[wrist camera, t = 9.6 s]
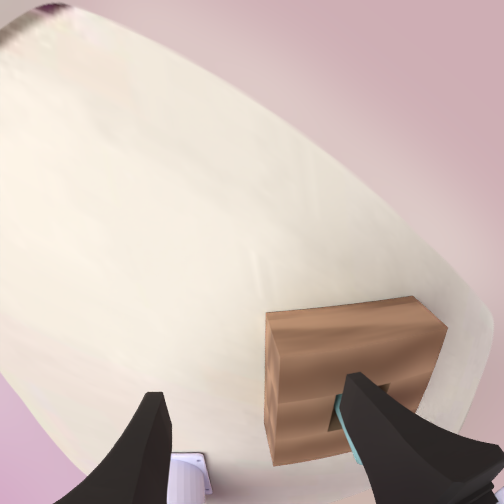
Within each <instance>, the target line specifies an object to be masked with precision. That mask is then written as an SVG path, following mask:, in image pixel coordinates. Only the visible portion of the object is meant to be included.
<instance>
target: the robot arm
mask: <svg viewBox="0 0 504 504" xmlns="http://www.w3.org/2000/svg"><path fill="white" fill-rule="evenodd" d="M339 409H340V413H341V416H342V419H343V422H344V425H345V428H346V430H347V433H348V435H349V437H350V439H351V441H352V443H353V445H354V447H355V449H356V451H357V454H358V456H359V458H360V460H361V462H362V464H363V466H364V468H365V471H366V473H367V475H368V478H369V481H370V484H371V487H372V490H373V494H374V497H375V500H376V504H504V487H502V488H501V489H500V490H498V491H497V492H496V493H495V494H494V493H493V492H492V489H493V488H494V485H493V483H492V482H491V481H492V480H493V479H494V478H495V477H496V476H497V475H498V473H499V472H500V471H501V470H502V469H503V468H504V452H503V451H502V449H501V448H500V447H499V446H498V445H495V444H490V443H485V442H480V441H476V440H473V439H469V438H466V437H463V436H460V435H457V434H454V433H452V432H450V431H447V430H445V429H442V428H440V427H438V426H436V425H434V424H432V423H430V422H429V421H427V420H425V419H423V418H421V417H420V416H418V415H416V414H415V413H413V412H412V411H410V410H409V409H407V408H406V407H404V406H403V405H402V404H400V403H399V402H397V401H396V400H395V399H393V398H392V397H391V396H390V395H388V394H387V393H386V392H384V391H383V390H382V389H381V388H380V387H378V386H377V385H376V384H375V383H373V382H372V381H371V380H370V379H369V378H367V377H366V376H365V375H364V374H363V373H361V372H356V373H351V374H347V375H346V380H345V384H344V389H343V393H342V397H341V401H340V406H339ZM171 452H172V423H171V420H170V417H169V413H168V410H167V406H166V402H165V399H164V395H163V392H147V393H146V394H145V396H144V398H143V399H142V401H141V403H140V405H139V407H138V409H137V411H136V412H135V414H134V416H133V418H132V419H131V421H130V423H129V424H128V426H127V427H126V429H125V431H124V432H123V434H122V435H121V437H120V438H119V439H118V441H117V442H116V444H115V445H114V447H113V448H112V449H111V451H110V452H109V453H108V454H107V456H106V457H105V458H104V459H103V460H102V462H101V463H100V464H99V465H98V466H97V467H96V468H95V469H94V470H93V471H92V472H91V473H90V474H89V475H88V476H87V477H86V478H85V479H84V481H82V482H81V483H80V484H79V485H77V486H76V487H75V488H74V489H73V490H71V491H70V492H69V493H68V494H67V495H65V496H64V497H62V498H61V499H60V500H58V501H56V502H55V503H53V504H205V494H212V487H211V484H210V480H209V476H208V472H207V468H206V464H205V460H204V456H203V454H200V453H171Z"/></svg>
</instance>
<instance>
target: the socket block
mask: <svg viewBox="0 0 504 504" xmlns="http://www.w3.org/2000/svg"><path fill="white" fill-rule="evenodd" d="M447 329H448V327H447V326H446V325H445V324H444V323H442V322H441V321H440V320H439V319H438V318H437V317H436V316H435V315H434V314H433V313H431V312H430V311H429V310H428V309H427V308H426V307H425V306H424V305H423V304H421V303H420V302H419V301H418V300H417V299H416V298H415V297H414V296H408V297H401V298H394V299H387V300H380V301H372V302H364V303H356V304H348V305H340V306H331V307H321V308H312V309H302V310H292V311H280V312H269V313H266V331H265V402H264V425H265V430H266V434H267V439H268V444H269V448H270V453H271V457H272V462H273V466H280V465H287V464H293V463H299V462H305V461H310V460H316V459H321V458H325V457H330V456H334V455H339V454H343V453H347V452H351V451H352V450H351V447H350V445H349V443H348V440H347V438H346V435H345V433H344V430H343V428H342V426H341V423H340V421H339V418H338V416H337V414H336V411H335V409H334V402H335V397H336V395H337V394H342V393H343V389H344V384H345V380H346V375H347V374H351V373H356V372H361V373H363V374H364V375H365V376H366V377H367V378H369V379H370V380H371V381H372V382H373V383H375V384H376V385H377V386H378V387H380V388H381V389H382V390H383V391H384V392H386V393H387V394H388V395H390V396H391V397H392V398H393V399H395V400H396V401H397V402H399V403H400V404H402V405H403V406H404V407H406V408H407V409H409V410H410V411H412V412H413V413H415V412H416V410H417V408H418V406H419V404H420V401H421V399H422V397H423V394H424V392H425V390H426V387H427V385H428V382H429V380H430V377H431V375H432V372H433V370H434V367H435V364H436V362H437V359H438V356H439V353H440V350H441V348H442V345H443V342H444V339H445V336H446V333H447Z"/></svg>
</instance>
